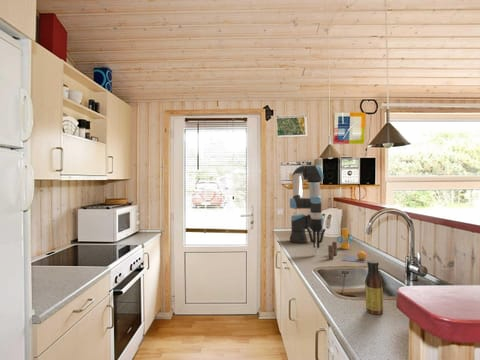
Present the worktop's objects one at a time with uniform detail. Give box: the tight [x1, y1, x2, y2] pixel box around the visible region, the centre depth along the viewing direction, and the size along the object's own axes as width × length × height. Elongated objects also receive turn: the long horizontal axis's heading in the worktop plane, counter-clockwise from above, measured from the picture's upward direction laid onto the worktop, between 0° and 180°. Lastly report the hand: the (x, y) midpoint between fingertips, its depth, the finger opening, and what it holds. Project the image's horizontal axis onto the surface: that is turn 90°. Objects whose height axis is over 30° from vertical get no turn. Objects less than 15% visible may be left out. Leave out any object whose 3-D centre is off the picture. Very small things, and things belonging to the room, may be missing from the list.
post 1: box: [327, 244, 334, 261], centre depth 205 cm, size 3×3×9 cm
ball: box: [356, 251, 367, 260], centre depth 202 cm, size 6×6×6 cm
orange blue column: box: [336, 227, 354, 250], centre depth 237 cm, size 12×10×15 cm
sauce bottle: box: [364, 259, 384, 315], centre depth 122 cm, size 7×6×20 cm
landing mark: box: [341, 255, 368, 264], centre depth 204 cm, size 14×14×1 cm
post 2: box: [331, 241, 338, 256], centre depth 216 cm, size 3×3×9 cm
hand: (316, 252), depth 216 cm, fingers closed
